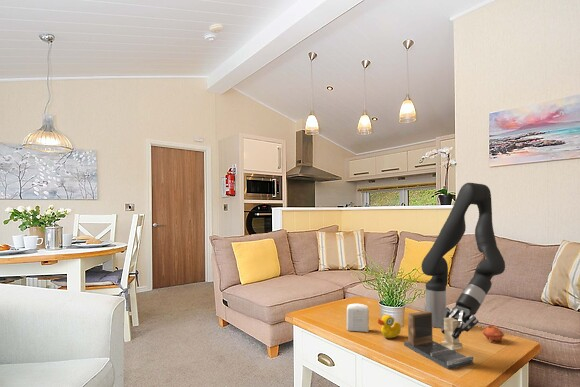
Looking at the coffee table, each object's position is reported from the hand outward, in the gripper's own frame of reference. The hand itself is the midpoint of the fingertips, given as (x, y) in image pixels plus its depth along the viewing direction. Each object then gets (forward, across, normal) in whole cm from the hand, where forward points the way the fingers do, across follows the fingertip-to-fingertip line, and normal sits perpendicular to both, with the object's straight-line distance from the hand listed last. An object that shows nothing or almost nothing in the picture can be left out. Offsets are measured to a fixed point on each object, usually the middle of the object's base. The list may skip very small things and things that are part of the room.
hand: (448, 335), depth 128 cm
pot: (-17, -9, +32) cm, 37 cm away
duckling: (+10, -29, +4) cm, 31 cm away
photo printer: (+16, -42, -2) cm, 45 cm away
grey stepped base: (+6, -8, +8) cm, 13 cm away
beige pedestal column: (+2, 0, +4) cm, 5 cm away
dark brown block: (+5, -16, +7) cm, 18 cm away
